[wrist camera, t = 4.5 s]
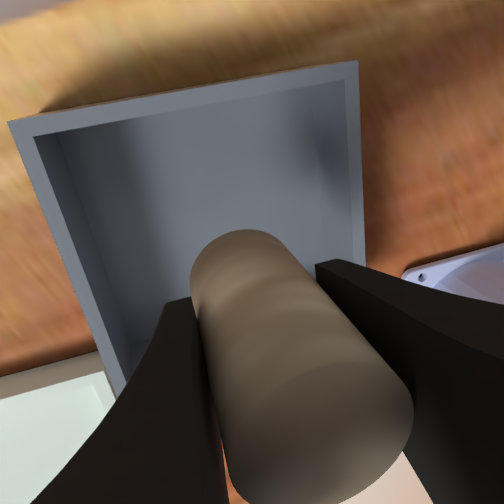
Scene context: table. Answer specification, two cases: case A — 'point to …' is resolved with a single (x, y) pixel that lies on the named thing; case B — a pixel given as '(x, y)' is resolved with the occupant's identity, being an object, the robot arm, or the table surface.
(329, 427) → the birch pin
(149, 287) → the charcoal bin
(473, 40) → the table surface
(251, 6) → the table surface
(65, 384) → the sage tray
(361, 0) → the table surface
